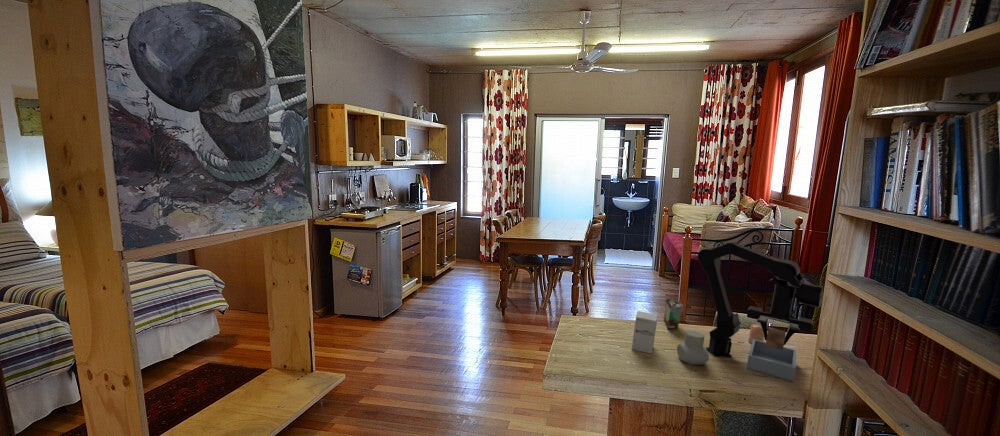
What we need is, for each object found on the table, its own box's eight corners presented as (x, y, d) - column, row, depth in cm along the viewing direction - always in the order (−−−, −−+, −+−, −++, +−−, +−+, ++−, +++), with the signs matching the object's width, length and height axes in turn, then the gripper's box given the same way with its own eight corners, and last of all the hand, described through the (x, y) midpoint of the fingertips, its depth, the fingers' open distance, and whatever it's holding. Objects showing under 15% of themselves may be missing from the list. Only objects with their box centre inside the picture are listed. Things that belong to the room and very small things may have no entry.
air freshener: (673, 353, 163) (677, 326, 161) (697, 354, 163) (700, 328, 161) (685, 367, 152) (689, 339, 150) (709, 369, 152) (714, 341, 150)
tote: (793, 382, 147) (795, 368, 146) (746, 369, 154) (748, 355, 153) (793, 363, 161) (796, 350, 161) (751, 351, 169) (753, 338, 168)
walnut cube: (783, 345, 153) (785, 331, 152) (782, 350, 149) (785, 335, 148) (766, 340, 156) (768, 327, 155) (765, 345, 152) (767, 331, 151)
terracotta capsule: (753, 346, 174) (756, 328, 173) (745, 340, 179) (748, 323, 178) (765, 346, 174) (768, 329, 173) (757, 340, 179) (760, 324, 178)
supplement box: (631, 349, 163) (635, 316, 161) (633, 342, 170) (637, 310, 168) (652, 354, 160) (656, 320, 158) (653, 346, 167) (658, 314, 165)
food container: (683, 333, 182) (687, 309, 180) (667, 330, 183) (671, 307, 181) (678, 321, 194) (681, 299, 192) (663, 319, 195) (666, 297, 193)
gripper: (816, 299, 151) (807, 343, 154) (753, 286, 162) (746, 327, 164) (817, 308, 142) (807, 354, 145) (750, 293, 152) (742, 337, 155)
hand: (774, 342), depth 152 cm, fingers closed on walnut cube, 5 cm apart
